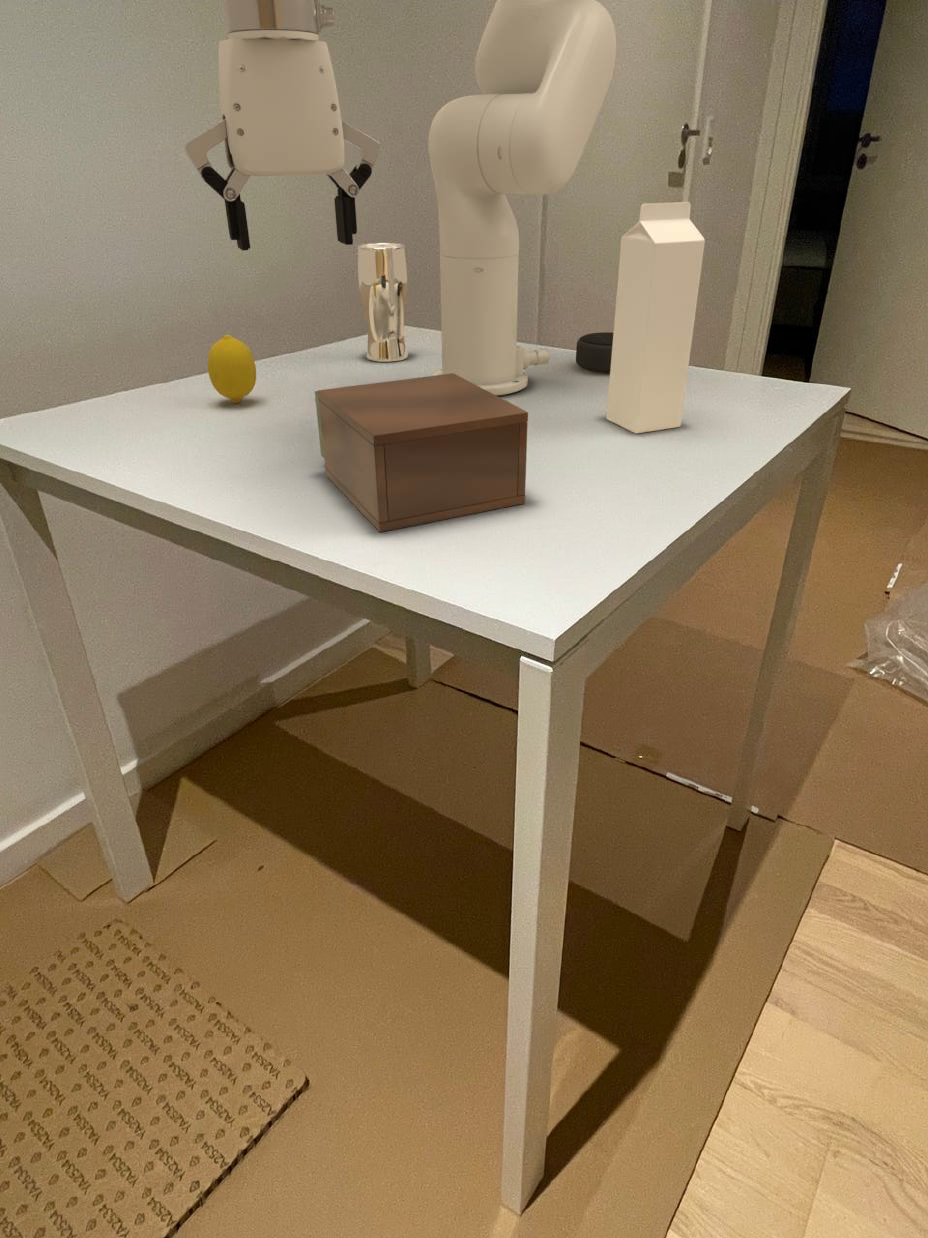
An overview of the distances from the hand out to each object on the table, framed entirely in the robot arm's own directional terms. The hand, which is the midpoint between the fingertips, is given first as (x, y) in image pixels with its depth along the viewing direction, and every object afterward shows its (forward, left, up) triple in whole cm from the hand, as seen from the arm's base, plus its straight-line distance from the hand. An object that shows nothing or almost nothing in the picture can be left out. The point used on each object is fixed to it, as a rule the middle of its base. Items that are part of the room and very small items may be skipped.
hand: (295, 245), depth 76 cm
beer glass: (-21, -32, -19) cm, 43 cm away
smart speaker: (-46, -12, -19) cm, 51 cm away
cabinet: (-5, +18, -19) cm, 26 cm away
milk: (-35, +11, -19) cm, 41 cm away
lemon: (+4, -18, -19) cm, 27 cm away
